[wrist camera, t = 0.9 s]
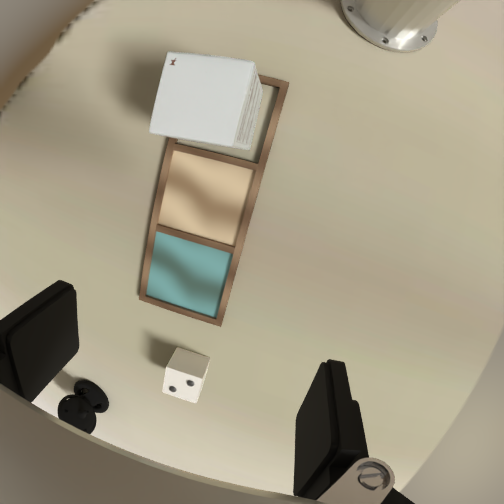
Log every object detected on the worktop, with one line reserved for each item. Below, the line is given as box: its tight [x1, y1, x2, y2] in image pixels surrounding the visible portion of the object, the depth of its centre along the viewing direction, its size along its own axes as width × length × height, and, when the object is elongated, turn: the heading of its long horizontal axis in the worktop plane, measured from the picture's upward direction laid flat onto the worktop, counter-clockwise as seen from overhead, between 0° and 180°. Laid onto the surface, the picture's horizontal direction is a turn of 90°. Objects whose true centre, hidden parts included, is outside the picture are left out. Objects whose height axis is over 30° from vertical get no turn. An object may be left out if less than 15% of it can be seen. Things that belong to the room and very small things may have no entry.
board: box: [139, 75, 289, 327], centre depth 37 cm, size 31×12×1 cm, turn 165°
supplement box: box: [149, 51, 263, 150], centre depth 28 cm, size 7×7×13 cm
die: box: [162, 347, 210, 403], centre depth 42 cm, size 5×5×5 cm
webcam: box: [58, 380, 109, 434], centre depth 45 cm, size 8×8×10 cm
